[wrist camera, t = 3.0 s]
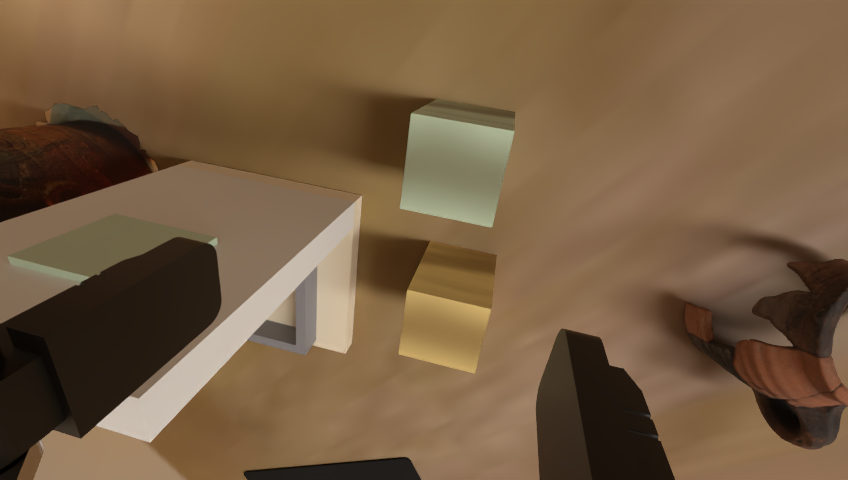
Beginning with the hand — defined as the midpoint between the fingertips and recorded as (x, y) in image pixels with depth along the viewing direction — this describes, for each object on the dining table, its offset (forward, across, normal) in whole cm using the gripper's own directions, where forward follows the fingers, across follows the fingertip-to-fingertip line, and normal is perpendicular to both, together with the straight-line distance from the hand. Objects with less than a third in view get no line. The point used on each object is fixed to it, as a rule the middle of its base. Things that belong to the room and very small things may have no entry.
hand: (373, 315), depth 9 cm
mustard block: (+19, -1, +10) cm, 22 cm away
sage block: (+19, 0, 0) cm, 19 cm away
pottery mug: (+20, -22, +8) cm, 31 cm away
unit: (+19, +14, +12) cm, 27 cm away
